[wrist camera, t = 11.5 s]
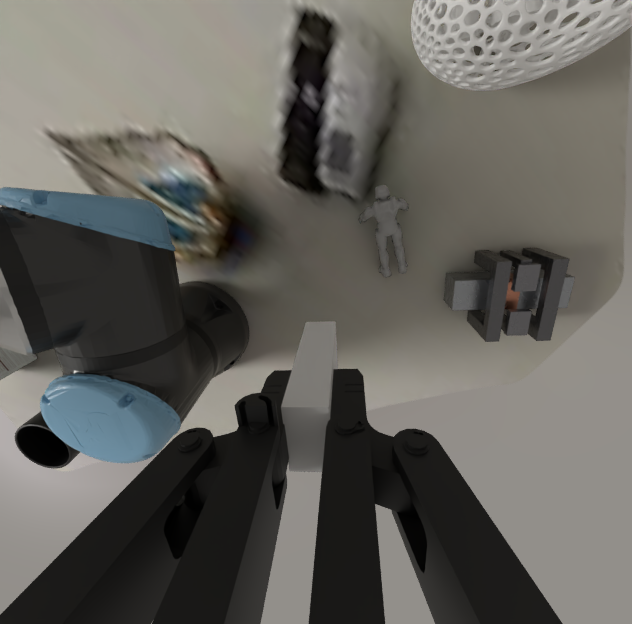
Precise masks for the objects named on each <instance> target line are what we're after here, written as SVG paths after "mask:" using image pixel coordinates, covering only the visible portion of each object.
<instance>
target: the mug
mask: <svg viewBox="0 0 632 624" xmlns="http://www.w3.org/2000/svg"><path fill="white" fill-rule="evenodd" d="M15 441H16V444H17V447H18V448H19V450H20V451H21V452H22V453H23V454H24V455H25V456H26V457H27V458H28V459H29V460H31V461H33V462H34V463H36V464H38V465H41V466H44V467H47V468H62V467H64V466H66V465H67V464H69V463H70V462H71V461H72V460H73V459H74V458H75V457H76V456H77V455H78V454H79V453H80V451H78V450H76V449H74V448H72V447H71V446H69V445H67V444H66V443H65V442H63V441H62V440H61V439H60V438H59V437H57V436H56V435H55V434H54V433H53V432H52V430H51V429H50V428H49V427H48V425H47V424H46V422H45V420H44V418H43V416H42V413H41V412H39V413H38V414H37V415H35V416H34V417H33V418H31V419H30V420H29V421H27V422H26V423H25V424H23V425H22V426H21V427H19V428H18V430H17V431H16V433H15Z"/></svg>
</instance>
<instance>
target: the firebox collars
mask: <svg viewBox="0 0 632 624" xmlns="http://www.w3.org/2000/svg"><path fill="white" fill-rule="evenodd" d="M474 263H476V264H477V265H479V266H481V267H482V268H484V269H485V270H487V271H489V272H490V273H491V276H490V283H489V290H488V297H487V304H486V311H485V314H484V313H483V312H482V311H480V310H468V317H467V321H468V322H469V323H470V324H471V326H472V327H473V328H474V329H475V330H476V331H477V332H478V334H479V335H480V336H481V337H482V338H483V339H484V340H485V342H495V341H499V338H500V332H501V329H502V330H503V331H504V333H505V334H506V335H507V336H508V335H527V333H528V334H529V335H530V336H531V337H533V338H534V339H535V340H536V341H547V340H551V335H552V331H553V327H554V323H555V318H556V314H557V310H558V305H559V301H560V297H561V293H562V288H563V284H564V280H565V276H566V271H567V267H568V263H569V259H568V258H565V257H562V256H560V255H557V254H554V253H551V252H548V251H545V250H542V249H539V248H523V253H522V255H520V254H518V253H515V252H513V251H510V250H509V251H501V252H500V255H498V254H495V253H493V252H491V251H489V250H479V251H475V259H474ZM511 266H513V267H515V269H514V275H513V281H512V287H511V290H512V291H514V292H522V291H536V288H537V283H538V278H539V273H540V269H542V270H544V271H545V272H544V277H543V282H542V287H541V292H540V296H539V301H538V306H537V311H536V316H534V315H533V314H532V311H531V310H529V309H510V310H508V311H507V316H506V315H505V314H504V308H505V302H506V296H507V290H508V284H509V278H510V272H511Z"/></svg>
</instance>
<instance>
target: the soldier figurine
mask: <svg viewBox="0 0 632 624" xmlns="http://www.w3.org/2000/svg"><path fill="white" fill-rule="evenodd" d="M375 191H376V199H377V200H378V199H379V202H378V201H375V202H374V205H373V206H372V207H370V206H369V207H367V208H366V209H365V211H364V213H363V214H361V215H360V218H359V222H360V223H361V221H364V222H365V221H366V220H367V219H369V218H370V217H372V216H374V217H375V219H376V220H377V221H378V222H379V223H377V226H378V229H376V242H377V244H378V248H379V249H378V251H379V258H380V261H381V264H382V266H380V268H379V272H380V273H382V274H383V276H384V277H389V276H391V271H390V269H389V264H388V261H389V255H388V252H387V249H386V246H387V236H390V235H391V237H392V242H393V244H394V246H395V251H394V252H395V256H396V258H397V260H398V271H399V273H402V274H403V273H406V271H407V268H406V267H407V266H408V264H407V262H406V261H405V258H404V256H405V252H404V248H403V246H402V231H401V227H400V224H399V223H397V220H396V218H395V217H396V215H397V212H398V209H401V210H404V211H405V210H408V208H409V204H408V203H406V201H405V200H404V199H403V198H398V200H397V199H395V196H393V197H391V198H389V199H388V197H389V196H390V193H389V189H388V188H387V186H386V185H380V186H378V187H376V188H375Z"/></svg>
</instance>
